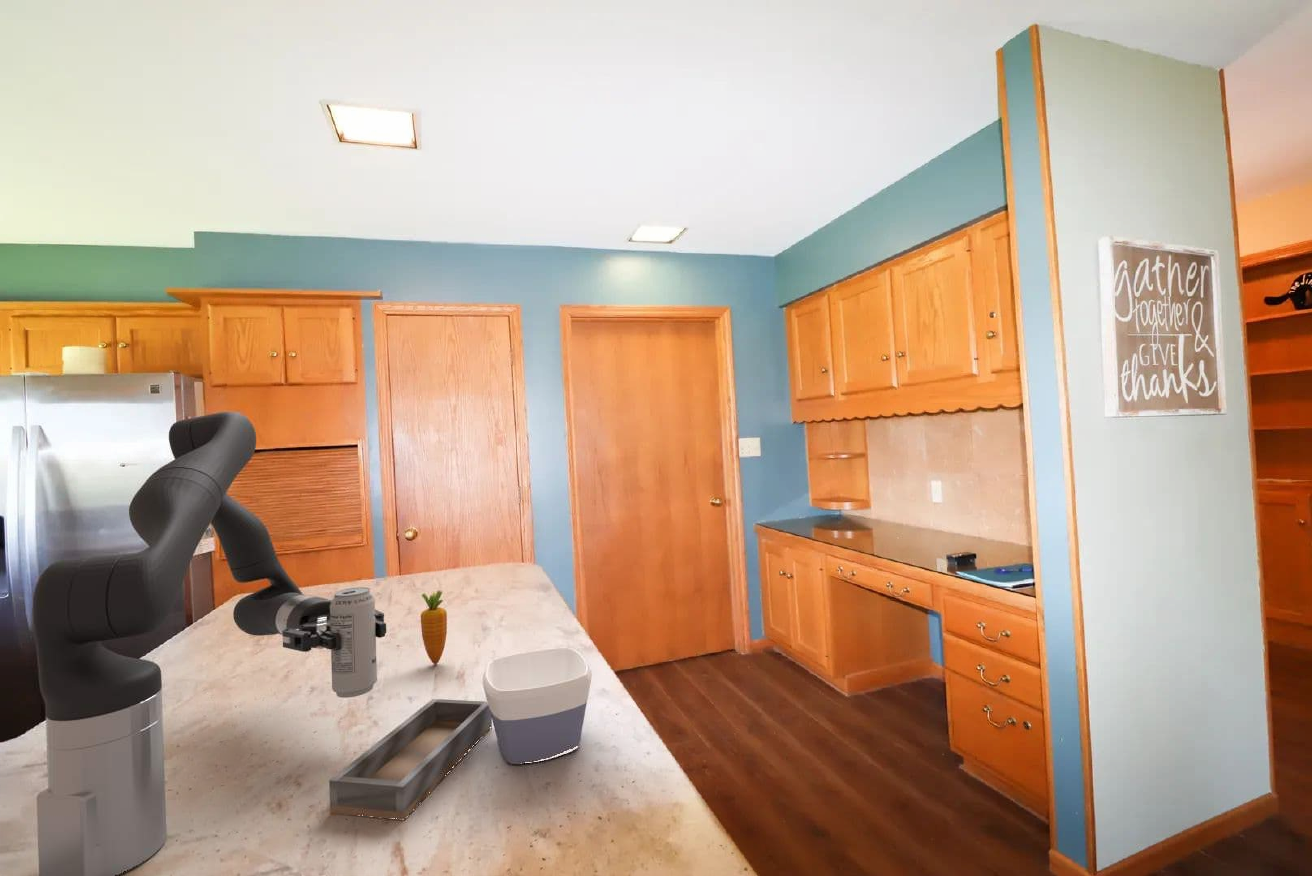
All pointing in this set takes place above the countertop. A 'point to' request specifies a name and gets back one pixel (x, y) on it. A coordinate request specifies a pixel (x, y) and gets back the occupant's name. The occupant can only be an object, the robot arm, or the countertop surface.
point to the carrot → (434, 627)
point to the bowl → (537, 702)
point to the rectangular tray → (409, 760)
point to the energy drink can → (353, 642)
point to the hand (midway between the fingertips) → (361, 636)
